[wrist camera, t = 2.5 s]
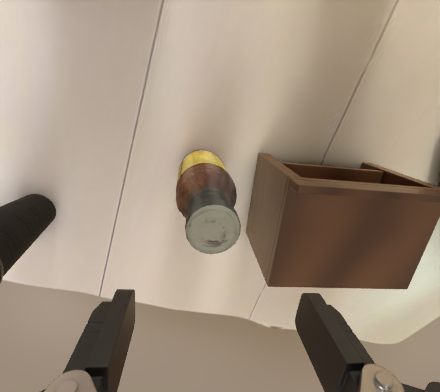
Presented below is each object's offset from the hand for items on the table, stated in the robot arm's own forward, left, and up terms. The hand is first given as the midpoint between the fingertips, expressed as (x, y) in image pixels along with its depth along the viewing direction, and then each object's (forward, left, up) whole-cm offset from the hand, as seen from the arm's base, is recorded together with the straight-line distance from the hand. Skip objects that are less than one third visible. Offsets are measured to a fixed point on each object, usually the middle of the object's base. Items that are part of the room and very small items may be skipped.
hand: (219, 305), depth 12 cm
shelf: (+17, -4, -26) cm, 32 cm away
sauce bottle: (0, 0, -27) cm, 27 cm away
